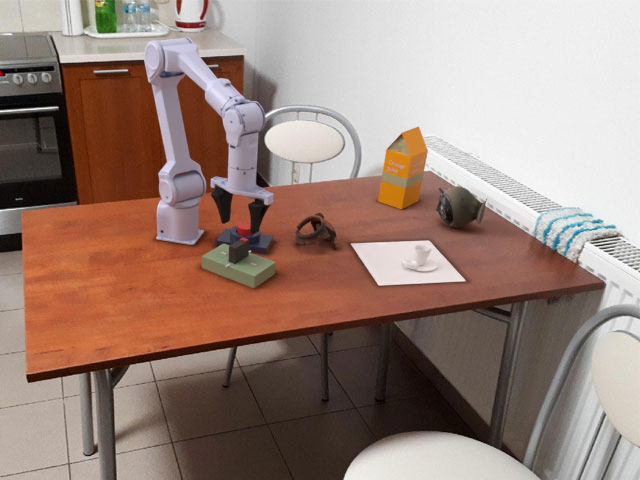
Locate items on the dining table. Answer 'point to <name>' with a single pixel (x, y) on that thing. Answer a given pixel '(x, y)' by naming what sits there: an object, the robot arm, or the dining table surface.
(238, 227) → the button
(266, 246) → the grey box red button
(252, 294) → the dining table surface
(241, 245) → the grey box red tab
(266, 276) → the green toggle switch panel
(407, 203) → the orange juice
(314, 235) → the dark brown ringed frame
